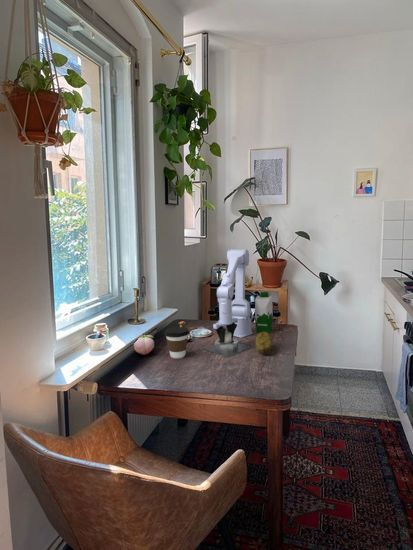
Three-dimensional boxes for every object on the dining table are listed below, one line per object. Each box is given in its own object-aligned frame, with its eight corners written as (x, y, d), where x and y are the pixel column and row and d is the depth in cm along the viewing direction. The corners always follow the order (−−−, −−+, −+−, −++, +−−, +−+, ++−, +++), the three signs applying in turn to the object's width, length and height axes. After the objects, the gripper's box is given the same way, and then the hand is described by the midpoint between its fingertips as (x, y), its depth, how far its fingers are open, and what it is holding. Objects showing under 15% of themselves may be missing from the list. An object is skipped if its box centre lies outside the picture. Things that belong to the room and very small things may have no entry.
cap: (226, 341, 192) (225, 330, 191) (233, 343, 188) (233, 332, 187) (218, 343, 189) (218, 332, 188) (226, 346, 185) (225, 335, 184)
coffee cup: (186, 361, 175) (185, 334, 173) (162, 359, 177) (161, 333, 175) (192, 352, 186) (191, 326, 184) (169, 351, 188) (168, 326, 186)
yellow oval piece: (251, 355, 179) (250, 337, 178) (257, 345, 191) (257, 329, 190) (269, 357, 176) (269, 339, 175) (275, 347, 188) (275, 330, 187)
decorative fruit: (152, 350, 190) (151, 329, 188) (156, 355, 182) (155, 334, 181) (132, 353, 187) (130, 332, 185) (135, 359, 179) (134, 337, 178)
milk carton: (273, 328, 217) (273, 292, 214) (271, 333, 208) (270, 295, 205) (257, 327, 220) (256, 291, 216) (254, 332, 211) (253, 295, 208)
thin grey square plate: (225, 340, 200) (225, 333, 199) (251, 348, 188) (250, 340, 188) (202, 349, 189) (201, 341, 188) (227, 357, 178) (227, 349, 177)
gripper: (229, 307, 194) (230, 335, 196) (208, 313, 184) (209, 342, 186) (241, 309, 189) (241, 338, 191) (219, 316, 179) (220, 345, 181)
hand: (226, 340), depth 188 cm, fingers closed on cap, 5 cm apart
